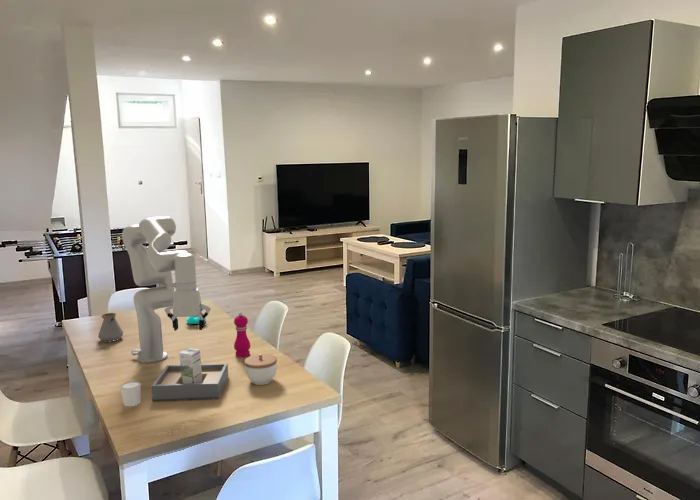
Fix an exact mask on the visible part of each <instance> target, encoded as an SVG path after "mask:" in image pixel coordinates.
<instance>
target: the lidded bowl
mask: <svg viewBox="0 0 700 500" xmlns="http://www.w3.org/2000/svg"><path fill="white" fill-rule="evenodd" d="M277 363H278V358H277V357H276V356H275V355H273V354H268V353H259V354H254V355H249V356H248V357H245V359H244V370H245V374H246V376H247V378H248V379H249V381H250V382H252V384H253V385H257V386H264V385H267V384H269V383H271V382H272V380H273V379H274V378H275V376H276V373H277V368H278V364H277Z"/></svg>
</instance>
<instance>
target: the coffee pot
mask: <svg viewBox="0 0 700 500" xmlns="http://www.w3.org/2000/svg"><path fill="white" fill-rule="evenodd" d="M116 316H117V313H115V312H108V313H104V314H102V315H101V318H102V324H101V327H100V329H99V332H98V336H97V337H98V338H99V340H100V341H102V342H103V341H113V340H117V339H119V338H120V339H121V338H122V337H123V336H124V330H123V329H122V327H121V326H120V324H119V323H118V321H117V319H116ZM120 339H119V340H120ZM117 341H118V340H117Z"/></svg>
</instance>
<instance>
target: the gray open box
mask: <svg viewBox="0 0 700 500" xmlns="http://www.w3.org/2000/svg"><path fill="white" fill-rule="evenodd" d="M228 366H229V365H228V363H203V364H202V363H201V371H202V383H191V384H182V379H181V366H180V364H174V365H173V364H172V365H171V364H170V365H166V366H165V368H164V369H163V370H162V372H161V373H160V374H159V375H158V377H157V378H156V379H155V380H154V381H153V383H152V384H151V385H150V386H151V397H152V400H151V401H152V402H171V401H172V402H175V401H177V402H178V401H199V400H201V401H203V400H205V401H206V400H219V399H220V397H221V395H222V393H223V390H224V388H225V386H226V384H227V382H228V379H229V367H228Z"/></svg>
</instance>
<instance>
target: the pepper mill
mask: <svg viewBox="0 0 700 500" xmlns="http://www.w3.org/2000/svg"><path fill="white" fill-rule="evenodd" d="M248 321H249V319H248V317H247V316H246V315H243V312H241V311H240V312H238V315H237V316H236V317H235V318H234V320H233V324H234V325H235V331H236V336H235V337H236V338H235V341H234V344H233V349H234V350H235V357H236V358H243V359H244V358H248V357H250V356H251V354H250V353H251V352H250V348H251V342H250V340H249V337H248V335H247V329H248V326H247V325H248V323H249V322H248Z"/></svg>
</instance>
